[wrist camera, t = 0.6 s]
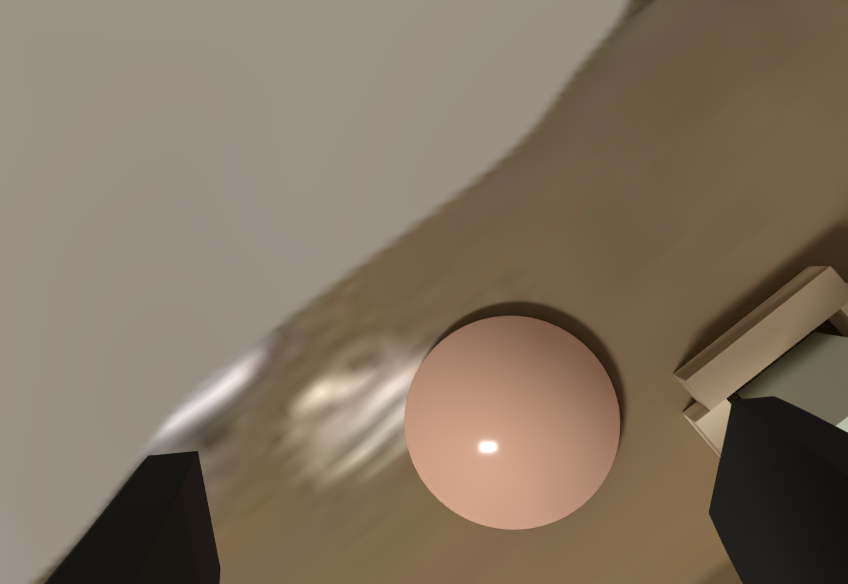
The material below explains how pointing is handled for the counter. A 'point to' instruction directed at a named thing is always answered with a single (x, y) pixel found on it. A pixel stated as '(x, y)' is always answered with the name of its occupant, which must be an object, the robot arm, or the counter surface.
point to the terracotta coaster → (512, 422)
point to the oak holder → (759, 345)
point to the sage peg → (809, 378)
